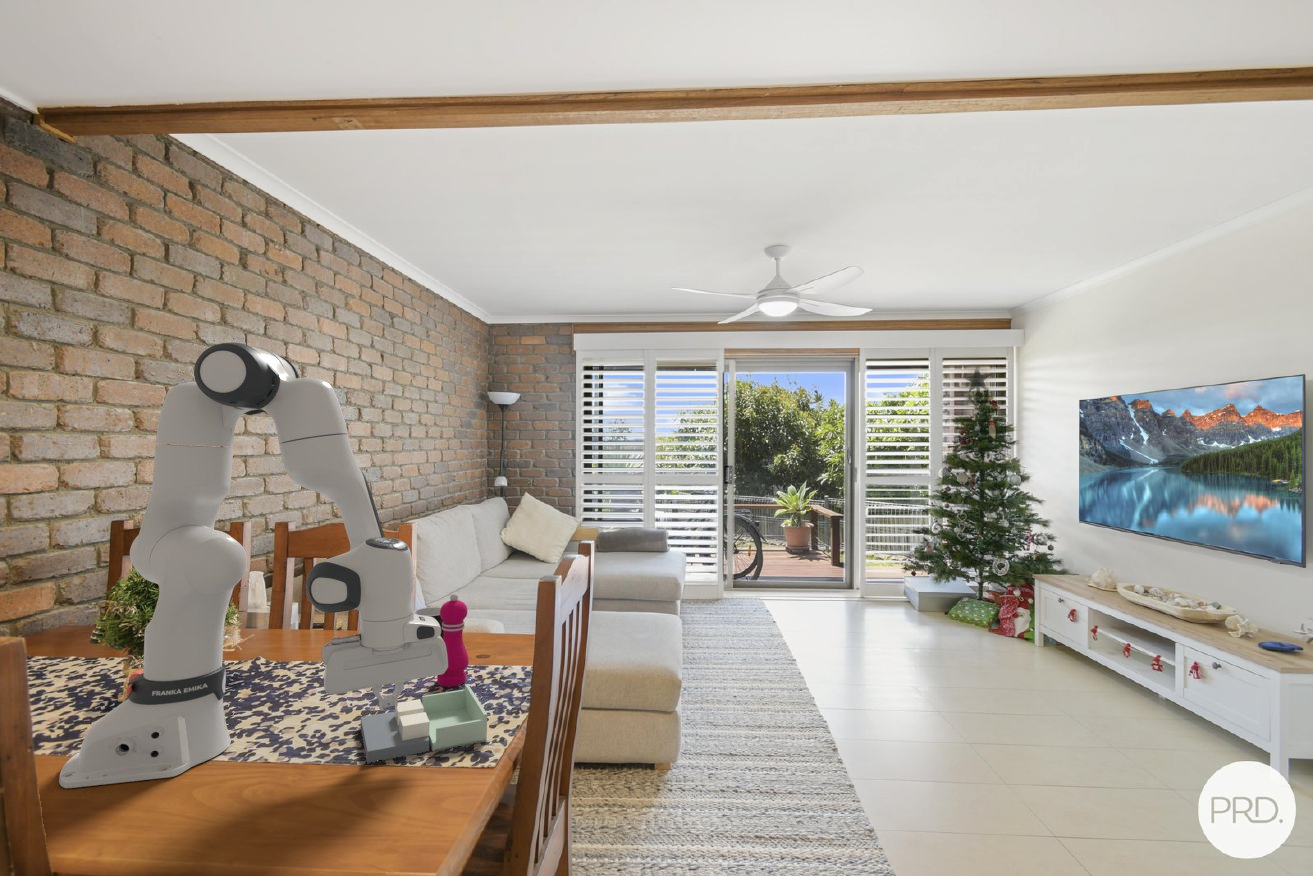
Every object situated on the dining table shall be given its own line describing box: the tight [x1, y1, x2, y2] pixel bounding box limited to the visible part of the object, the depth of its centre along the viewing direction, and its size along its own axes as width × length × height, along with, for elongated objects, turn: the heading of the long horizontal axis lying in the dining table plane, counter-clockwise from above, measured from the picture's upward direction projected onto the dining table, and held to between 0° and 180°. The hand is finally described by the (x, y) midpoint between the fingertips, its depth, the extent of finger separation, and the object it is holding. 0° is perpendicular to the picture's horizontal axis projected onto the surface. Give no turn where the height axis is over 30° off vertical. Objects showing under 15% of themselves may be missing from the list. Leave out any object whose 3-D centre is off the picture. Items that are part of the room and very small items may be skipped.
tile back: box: [394, 698, 424, 726], centre depth 122 cm, size 4×4×2 cm
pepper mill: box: [436, 593, 470, 688], centre depth 146 cm, size 7×7×20 cm
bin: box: [421, 683, 488, 753], centre depth 123 cm, size 10×16×5 cm, turn 29°
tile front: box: [399, 712, 430, 741], centre depth 116 cm, size 4×4×2 cm
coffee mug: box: [414, 606, 444, 639], centre depth 166 cm, size 12×9×10 cm
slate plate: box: [360, 711, 430, 764], centre depth 118 cm, size 10×15×2 cm, turn 29°
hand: (388, 707), depth 114 cm, fingers closed
